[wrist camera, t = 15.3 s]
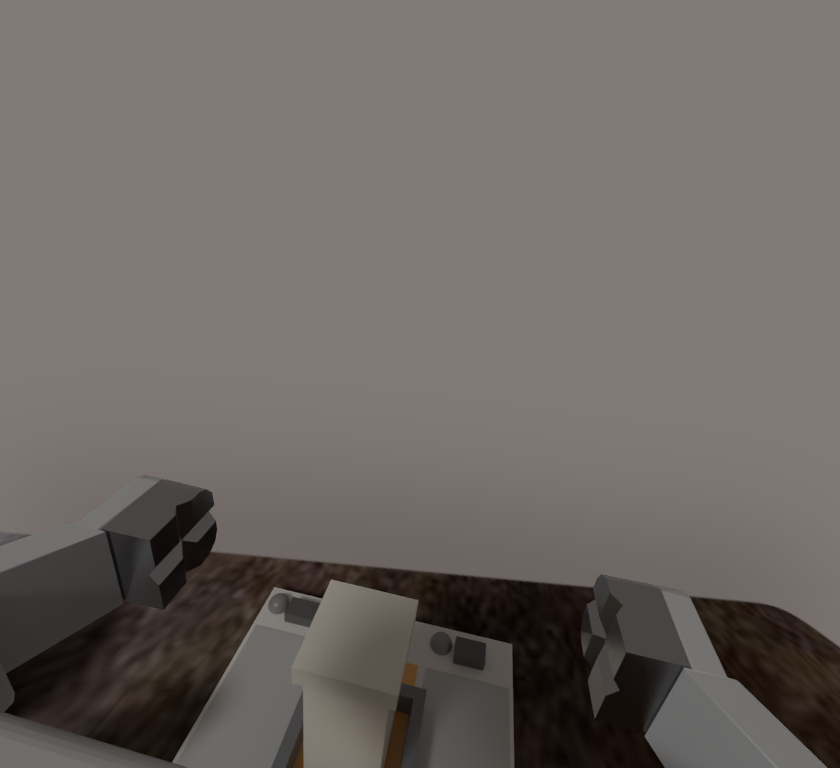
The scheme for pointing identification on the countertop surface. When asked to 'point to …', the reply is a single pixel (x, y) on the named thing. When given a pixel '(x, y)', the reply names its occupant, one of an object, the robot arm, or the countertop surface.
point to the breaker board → (415, 713)
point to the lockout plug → (352, 675)
